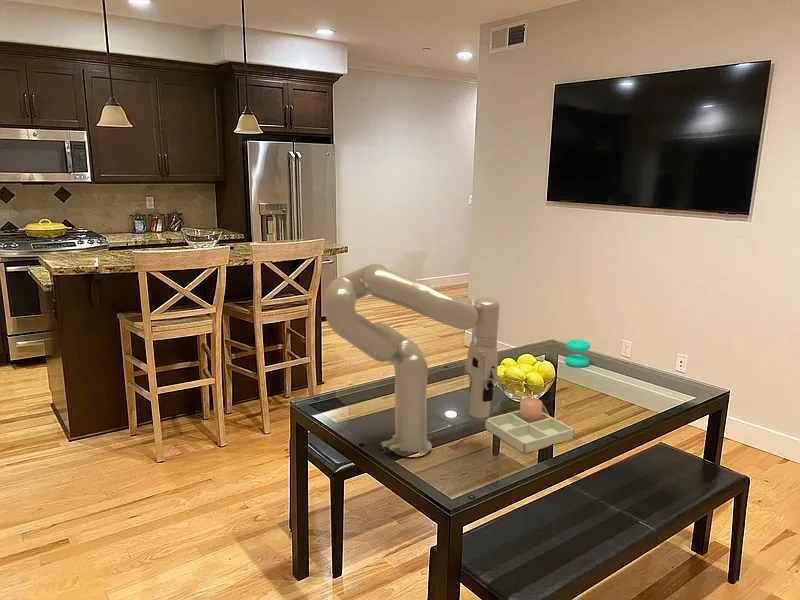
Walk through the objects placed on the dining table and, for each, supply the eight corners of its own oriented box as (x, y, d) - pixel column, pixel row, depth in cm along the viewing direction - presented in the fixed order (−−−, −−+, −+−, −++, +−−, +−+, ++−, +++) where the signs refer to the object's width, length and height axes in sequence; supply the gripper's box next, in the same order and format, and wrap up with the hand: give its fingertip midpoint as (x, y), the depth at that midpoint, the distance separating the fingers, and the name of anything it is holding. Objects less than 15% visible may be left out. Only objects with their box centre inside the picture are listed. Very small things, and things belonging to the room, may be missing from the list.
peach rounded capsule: (529, 430, 190) (529, 407, 188) (515, 422, 196) (516, 400, 194) (545, 426, 193) (546, 403, 192) (531, 418, 199) (532, 396, 198)
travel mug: (492, 415, 183) (497, 353, 178) (484, 422, 177) (488, 359, 173) (474, 410, 186) (477, 350, 181) (465, 418, 180) (469, 355, 176)
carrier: (524, 456, 176) (524, 443, 175) (484, 430, 193) (485, 419, 192) (574, 441, 185) (574, 429, 184) (532, 417, 202) (532, 407, 201)
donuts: (581, 346, 246) (561, 341, 253) (579, 369, 248) (560, 363, 256) (595, 342, 252) (575, 337, 259) (593, 364, 254) (574, 358, 262)
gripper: (457, 334, 182) (454, 389, 186) (491, 349, 167) (487, 409, 171) (477, 331, 185) (474, 385, 189) (512, 346, 170) (508, 405, 174)
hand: (480, 396), depth 180 cm, fingers closed on travel mug, 6 cm apart
